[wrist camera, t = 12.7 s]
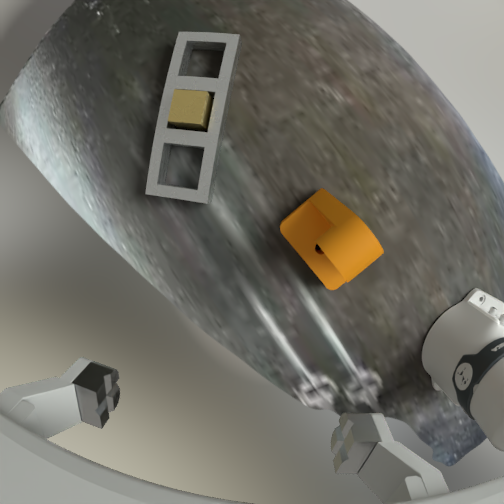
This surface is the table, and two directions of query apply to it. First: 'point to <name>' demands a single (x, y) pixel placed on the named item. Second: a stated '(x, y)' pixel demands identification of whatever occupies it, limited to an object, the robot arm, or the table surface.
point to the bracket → (330, 239)
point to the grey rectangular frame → (187, 138)
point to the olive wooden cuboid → (191, 109)
